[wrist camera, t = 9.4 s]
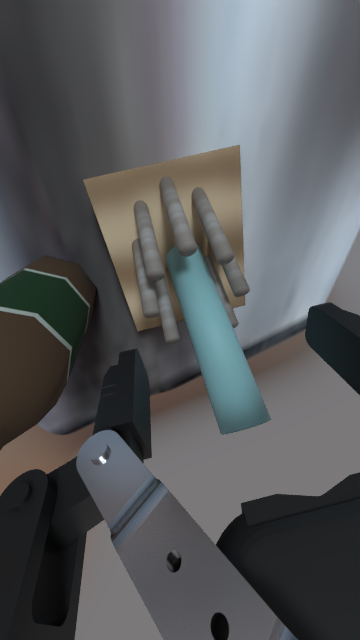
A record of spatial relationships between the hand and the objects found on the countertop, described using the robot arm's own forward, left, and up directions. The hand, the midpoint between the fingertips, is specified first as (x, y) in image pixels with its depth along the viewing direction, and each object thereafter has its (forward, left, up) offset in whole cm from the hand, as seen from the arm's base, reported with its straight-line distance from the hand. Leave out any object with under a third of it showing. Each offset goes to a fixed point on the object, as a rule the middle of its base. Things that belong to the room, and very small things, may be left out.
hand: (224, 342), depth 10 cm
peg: (-1, 0, -11) cm, 12 cm away
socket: (-1, 0, -15) cm, 15 cm away
